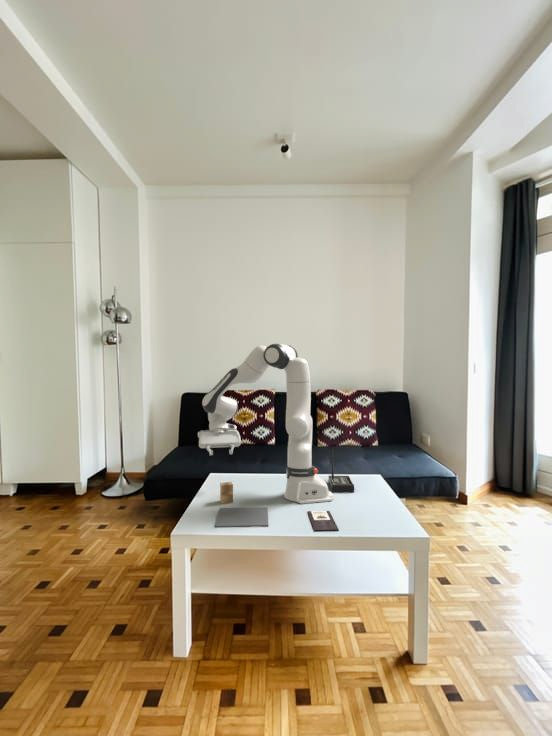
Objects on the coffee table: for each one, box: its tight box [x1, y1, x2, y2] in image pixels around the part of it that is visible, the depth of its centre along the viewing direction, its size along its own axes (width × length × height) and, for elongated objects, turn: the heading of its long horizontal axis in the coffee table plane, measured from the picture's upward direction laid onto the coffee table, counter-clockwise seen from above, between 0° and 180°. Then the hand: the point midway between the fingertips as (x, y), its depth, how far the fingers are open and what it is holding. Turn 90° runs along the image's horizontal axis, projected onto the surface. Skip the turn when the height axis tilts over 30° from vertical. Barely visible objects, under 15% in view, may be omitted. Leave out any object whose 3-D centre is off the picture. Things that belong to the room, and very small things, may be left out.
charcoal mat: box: [214, 506, 269, 528], centre depth 153 cm, size 20×18×1 cm
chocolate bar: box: [307, 510, 340, 533], centre depth 149 cm, size 9×1×18 cm
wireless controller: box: [327, 448, 355, 493], centre depth 193 cm, size 20×14×17 cm
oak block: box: [219, 481, 234, 505], centre depth 171 cm, size 5×4×8 cm
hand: (221, 454), depth 183 cm, fingers open, 8 cm apart
